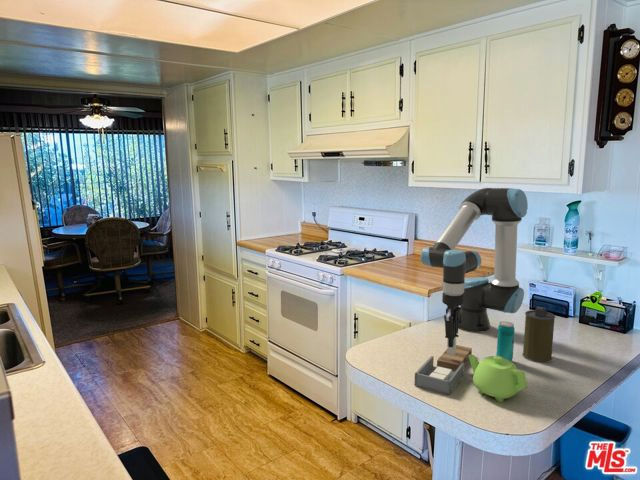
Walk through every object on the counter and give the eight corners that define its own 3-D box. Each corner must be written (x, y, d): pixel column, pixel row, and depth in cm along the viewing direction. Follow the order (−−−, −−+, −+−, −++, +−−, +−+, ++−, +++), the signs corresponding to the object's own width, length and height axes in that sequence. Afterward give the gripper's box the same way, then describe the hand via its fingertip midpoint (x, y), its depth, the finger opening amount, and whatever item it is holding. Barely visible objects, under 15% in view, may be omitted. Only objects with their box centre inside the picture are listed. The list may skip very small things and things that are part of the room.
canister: (549, 365, 166) (552, 313, 163) (519, 358, 172) (522, 308, 169) (554, 355, 175) (558, 306, 171) (526, 349, 181) (529, 301, 178)
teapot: (457, 387, 150) (458, 352, 148) (479, 376, 158) (481, 342, 156) (513, 412, 134) (516, 373, 132) (535, 398, 142) (538, 361, 140)
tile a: (437, 371, 160) (438, 366, 160) (451, 374, 158) (451, 369, 157) (433, 377, 156) (433, 371, 156) (447, 380, 154) (447, 375, 153)
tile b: (427, 377, 152) (427, 383, 152) (441, 381, 149) (441, 386, 149) (432, 372, 156) (432, 377, 156) (446, 375, 153) (446, 381, 153)
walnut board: (451, 351, 180) (451, 344, 179) (471, 355, 175) (471, 348, 175) (436, 367, 165) (437, 360, 164) (458, 372, 160) (458, 365, 160)
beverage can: (513, 365, 166) (516, 326, 164) (497, 363, 167) (499, 325, 165) (510, 358, 172) (512, 321, 170) (495, 357, 173) (497, 320, 171)
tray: (431, 366, 165) (431, 355, 165) (463, 374, 159) (464, 363, 158) (414, 385, 151) (414, 373, 151) (449, 394, 145) (449, 382, 144)
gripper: (448, 287, 168) (446, 345, 172) (437, 296, 157) (435, 358, 161) (468, 289, 164) (466, 349, 168) (458, 299, 153) (456, 363, 157)
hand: (451, 354), depth 165 cm, fingers closed
